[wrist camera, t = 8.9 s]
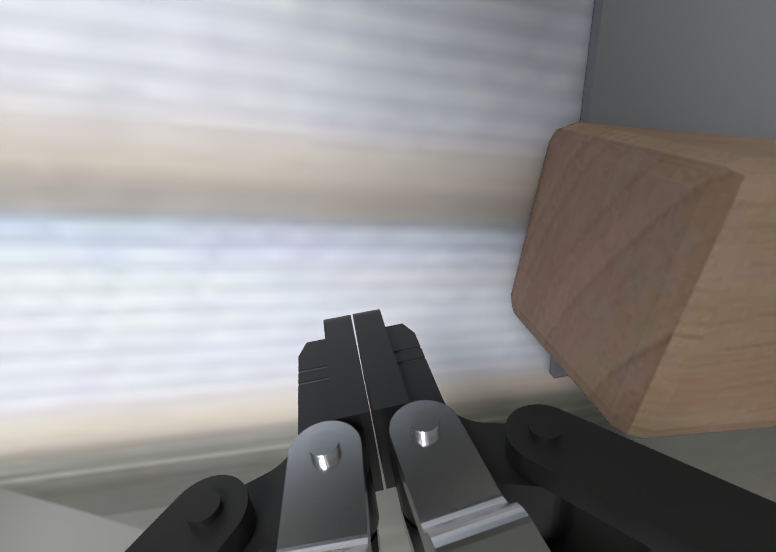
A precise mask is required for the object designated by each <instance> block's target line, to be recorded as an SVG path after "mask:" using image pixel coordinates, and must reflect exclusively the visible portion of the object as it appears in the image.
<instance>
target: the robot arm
mask: <svg viewBox="0 0 776 552" xmlns="http://www.w3.org/2000/svg"><path fill="white" fill-rule="evenodd" d="M353 319H354V325H355V330H356V336H357V342H358V348H359V353H360V359H361V364H362V369H361V364H360V360H359V355H358V350H357V345H356V340H355V335H354V330H353V325H352V320H351V315H347V316H342V317H337V318H332V319H326V320H324V331H325V339H323V340H318V341H313V342H308V343H306V345H305V346H304V348H303V350H302V352H301V353H300V355H299V369H298V371H299V374H298V383H299V386H298V436H297V438H296V439H295V440H294V441H293V443H292V445H291V447H290V449H289V453H288V457H287V458H286V459H285V460H284V461H283V462H282V463H281V464H280V465H279V466H277V467H276V468H275V469H273V470H271V471H270V472H268V473H266V474H264V475H263V476H261V477H259V478H257V479H255V480H253V481H251V482H249V483H247V484H245V485H244V484H243V483H242V482H241V481H240V480H239V479H237V478H236V477H233V476H229V475H217V476H212V477H209V478H206V479H203V480H201V481H199V482H197V483H195V484H194V485H192V486H190V487H189V488H188V489H186V490H185V491H184V492H183V493H182V494H181V495H180V496H178V497H177V499H176V500H175V501H174V502H173V503H172V504H171V505H170V506H169V507H168V508H167V509H166V510H165V511H164V512H163V513H162V514H161V515H160V516H159V517H158V518H157V519H156V520H155V521H154V522H153V523H152V524H151V525H150V526H149V527H148V528H147V529H146V530H145V531H144V532H143V533H142V534H141V536H139V538H138V539H137V540H136V541H135V542H134V543H133V544H132V545H131V546H130V547H129V548H128V549H127V550H126V551H125V552H381V550H380V539H379V530H378V521H379V513H378V507H377V501H376V495H375V492H376V491H381V490H384V489H383V483H382V477H381V471H380V466H379V460H378V454H377V449H376V443H375V437H374V431H373V426H372V420H371V415H372V419H373V424H374V429H375V434H376V439H377V444H378V449H379V454H380V459H381V463H382V468H383V473H384V478H385V483H386V488H387V489H388V488H392V487H396V488H397V492H398V497H399V501H400V506H401V513H402V519H403V524H404V527H405V531H406V534H407V537H408V540H409V544H410V547H411V550H412V552H776V503H775V502H773V501H770V500H768V499H766V498H763V497H761V496H759V495H757V494H754V493H752V492H750V491H747V490H745V489H743V488H740V487H738V486H736V485H733V484H731V483H729V482H727V481H724V480H722V479H720V478H717V477H715V476H713V475H710V474H708V473H706V472H703V471H701V470H699V469H697V468H694V467H692V466H690V465H687V464H685V463H683V462H680V461H678V460H676V459H673V458H671V457H669V456H667V455H664V454H662V453H660V452H657V451H655V450H653V449H650V448H648V447H646V446H643V445H641V444H639V443H637V442H634V441H632V440H630V439H627V438H625V437H623V436H620V435H618V434H616V433H613V432H611V431H609V430H607V429H604V428H602V427H600V426H597V425H595V424H593V423H590V422H588V421H586V420H583V419H581V418H579V417H577V416H574V415H572V414H570V413H567V412H565V411H563V410H560V409H558V408H555V407H552V406H548V405H540V404H534V405H527V406H523V407H521V408H519V409H517V410H515V411H514V412H513V413H512V414H511V415H510V416H509V418H508V419H507V422H506V424H500V423H481V422H474V421H470V420H467V419H464V418H462V417H460V416H458V415H457V414H456V413H455V412H454V411H453V410H452V409H451V408H450V407H448V406H447V405H446V404H445V402H444V400H443V398H442V396H441V394H440V391H439V389H438V387H437V384H436V382H435V380H434V377H433V375H432V373H431V370H430V368H429V366H428V363H427V361H426V359H425V356H424V354H423V352H422V349H421V348H420V345H419V342H418V340H417V338H416V335H415V333H414V332H413V331H411V330H410V329H409V328H407V327H406V326H405V325H403V324H398V325H393V326H388V327H385V325H384V322H383V318H382V315H381V312H380V310H379V309H378V310H372V311H367V312H362V313H357V314H353ZM362 370H363V374H362ZM363 375H364V379H363ZM364 380H365V384H364ZM365 385H366V389H365ZM366 390H367V394H366ZM367 395H368V399H367ZM368 400H369V404H368ZM369 405H370V409H369ZM370 410H371V414H370Z"/></svg>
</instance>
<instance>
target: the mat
mask: <svg viewBox="0 0 776 552" xmlns="http://www.w3.org/2000/svg"><path fill="white" fill-rule="evenodd" d="M580 123H591V124H602V125H613V126H624V127H636V128H647V129H658V130H669V131H680V132H692V133H703V134H714V135H725V136H736V137H748V138H759V139H770V140H776V0H595V4H594V12H593V20H592V28H591V36H590V44H589V53H588V61H587V69H586V77H585V85H584V93H583V102H582V110H581V118H580ZM549 372H550V374H551V375H552V376H553V377H554V378H558V377H563V376H568V374H567V373H566V372H565V371H564V370H563V368H562V367H561V366H560V365H559V364H558V363H557V362H556V360H555V359H554V358H553V357H552V356H551V363H550V371H549Z"/></svg>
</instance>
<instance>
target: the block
mask: <svg viewBox="0 0 776 552" xmlns="http://www.w3.org/2000/svg"><path fill="white" fill-rule="evenodd" d="M511 299H512V307H513V311H514V313H515V314H516V316H517V317H518V318H519V319H520V320H521V321H522V322H523V324H524V325H525V326H526V327H527V328H528V329H529V330H530V332H531V333H532V334H533V335H534V336H535V337H536V339H537V340H538V341H539V342H540V343H541V344H542V345H543V347H544V348H545V349H546V350H547V351H548V352H549V353H550V355H551V356H552V357H553V358H554V359H555V360H556V362H557V363H558V364H559V365H560V366H561V367H562V368H563V370H564V371H565V372H566V373H567V374H568V375H569V376H570V378H571V379H572V380H573V381H574V382H575V383H576V385H577V386H578V387H579V388H580V389H581V390H582V391H583V393H584V394H585V395H586V396H587V397H588V398H589V399H590V401H591V402H592V403H593V404H594V405H595V406H596V408H597V409H598V410H599V411H600V412H601V413H602V414H603V416H604V417H605V418H606V419H607V420H608V421H609V422H610V424H611V425H613V426H614V427H616V428H617V429H619V430H621V431H622V432H624V433H626V434H628V435H631V436H635V437H638V438H652V437H664V436H675V435H686V434H697V433H709V432H720V431H731V430H742V429H753V428H765V427H776V140H770V139H759V138H748V137H736V136H725V135H714V134H703V133H692V132H680V131H669V130H658V129H647V128H636V127H624V126H613V125H602V124H591V123H580V122H577V123H575V124H572V125H569V126H566V127H563V128H560V129H557V130H556V131H555V133H554V135H553V137H552V138H551V140H550V142H549V145H548V149H547V153H546V157H545V161H544V165H543V169H542V173H541V177H540V181H539V185H538V189H537V193H536V197H535V201H534V205H533V209H532V213H531V217H530V221H529V225H528V229H527V233H526V237H525V241H524V245H523V249H522V253H521V257H520V261H519V265H518V269H517V273H516V277H515V281H514V285H513V289H512V293H511Z"/></svg>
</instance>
